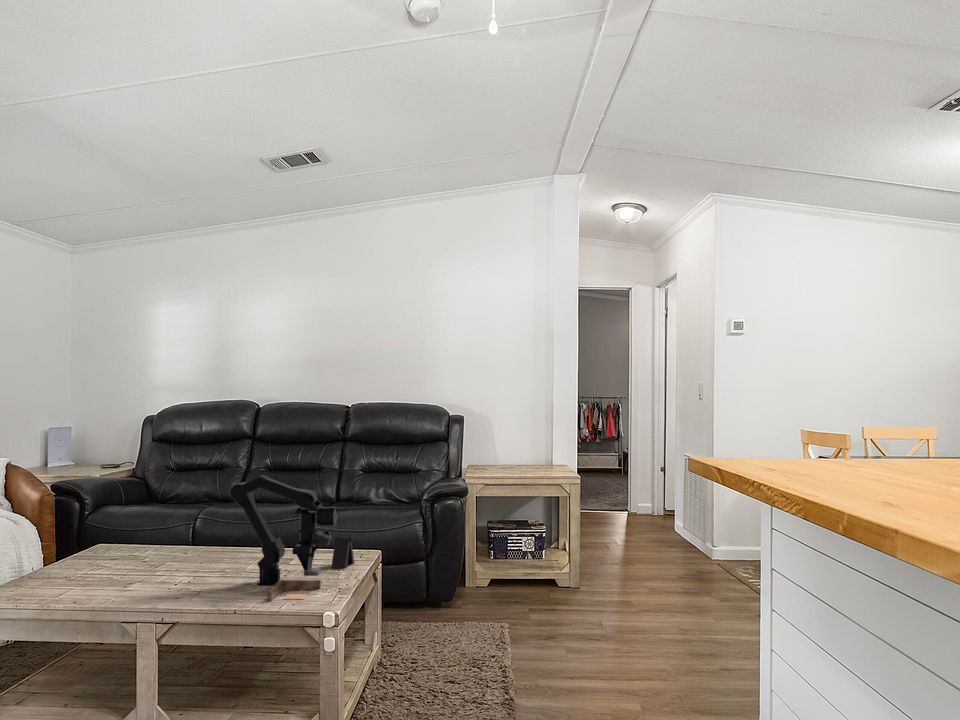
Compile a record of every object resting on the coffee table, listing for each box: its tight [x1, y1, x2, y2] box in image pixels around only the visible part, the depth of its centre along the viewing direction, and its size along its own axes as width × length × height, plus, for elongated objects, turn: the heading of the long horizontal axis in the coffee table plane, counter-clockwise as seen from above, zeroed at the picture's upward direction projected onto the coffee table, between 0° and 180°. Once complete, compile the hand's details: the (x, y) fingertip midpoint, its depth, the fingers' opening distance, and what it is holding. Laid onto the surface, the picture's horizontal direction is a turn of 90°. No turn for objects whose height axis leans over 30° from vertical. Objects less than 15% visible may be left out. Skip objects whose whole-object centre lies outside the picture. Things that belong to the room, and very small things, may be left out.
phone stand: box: [330, 534, 355, 569], centre depth 274 cm, size 9×6×12 cm, turn 166°
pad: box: [283, 591, 311, 600], centre depth 234 cm, size 7×8×1 cm
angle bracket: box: [303, 556, 322, 577], centre depth 250 cm, size 5×5×6 cm
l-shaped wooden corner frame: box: [267, 579, 322, 602], centre depth 236 cm, size 14×15×3 cm
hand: (307, 568), depth 250 cm, fingers closed on angle bracket, 5 cm apart
